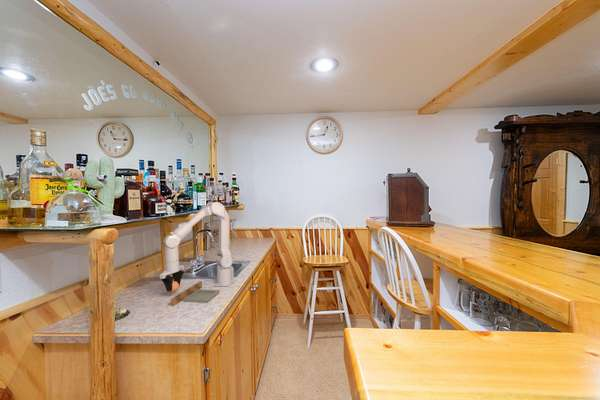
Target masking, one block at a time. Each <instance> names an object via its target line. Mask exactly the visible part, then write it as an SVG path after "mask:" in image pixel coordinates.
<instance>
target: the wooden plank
mask: <svg viewBox="0 0 600 400" xmlns="http://www.w3.org/2000/svg"><path fill="white" fill-rule="evenodd" d="M202 287H203V281H202V280H201V281H198V282H196V283H195V284H193V285H192V286H189V287H188V288H187V289H185V290H183V291H182V292H180V293H179V294H177V295H175V296H174V297H172V298H170V304H171V307H175V306H176V305H178V304H179V303H181V302H182V301H183V300H184V299H185V298H186V297H188V296H189V295H191V294H192V293H194V292H195V291H197V290H198V289H202Z"/></svg>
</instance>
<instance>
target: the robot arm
mask: <svg viewBox="0 0 600 400" xmlns="http://www.w3.org/2000/svg"><path fill="white" fill-rule="evenodd" d="M225 207H226V206H225V205H223V204H222V203H221V202H219V201H209V202H207V204H206V205H203V206H202V207H201V208H200V209H199V210H198V211H197V212H196V213H195V214H194V215H193V216H192V217H191V218H190V219H189V220H188V221H187V222H182V223H179V224H178V225H177V227H176V228H175V229H174V230H173V231H170V232H169V234H167V235H166V236H165V237H164V239H163V240H162V243H163V244H164V261H165V263H164V265H165V266H164V267H165V269H164V270H163V272H162V273H160V274H159V279H160V280H161V282H162V283H163V285H164V287H165V290H166V292H169V293H172V292H171V291H172V283H173V281H176V282H178V284H179V287H180V285H181V280H182V278H183V275H184V273H185V271H184V270H185V265H183V264H182V265H180V259H179V258H180V256H179V255H180V254H179V245H180V243H181V241H183V239H184V238H186V237H187V236H188V235H189V234H190V233H191V232H192V229H193V227H194V226H195V225H196V224H197V223H199V222H200V221H201V220H202V219H204V217H208V216H211V215H212V216H214V217H215V218H216V219H217V220H218V249H217V251H216V256H215V258H214V260H215V263H216V264H217V266H216V279H217V280H216V281H217V282H216V283H215V284H213V286H214V287H229V286H231V285H232V284H233V283H234V282H235V281H236V279H235V271H234V270H235V269H234V267H233V265H232V264H233V258H232V253H231V250H230V216H229V214H228V213H229V212H228V211H227V210H226V208H225Z"/></svg>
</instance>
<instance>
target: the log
mask: <svg viewBox="0 0 600 400" xmlns="http://www.w3.org/2000/svg"><path fill="white" fill-rule="evenodd" d="M114 306H115V305H114ZM130 313H131V311H130V310H129V309H126V308H124V307H121V306H119V307H117V306H115V321H114V322H117V321H119V320H121V319H124V318H126V317H128V316H129V315H130Z"/></svg>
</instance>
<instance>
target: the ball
mask: <svg viewBox="0 0 600 400" xmlns="http://www.w3.org/2000/svg"><path fill="white" fill-rule="evenodd" d="M179 288H180V286H179V284H178V282H176V281H174V280H173V283H172V291H171V292H170V293H175V292H177V291H178V290H179Z"/></svg>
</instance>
